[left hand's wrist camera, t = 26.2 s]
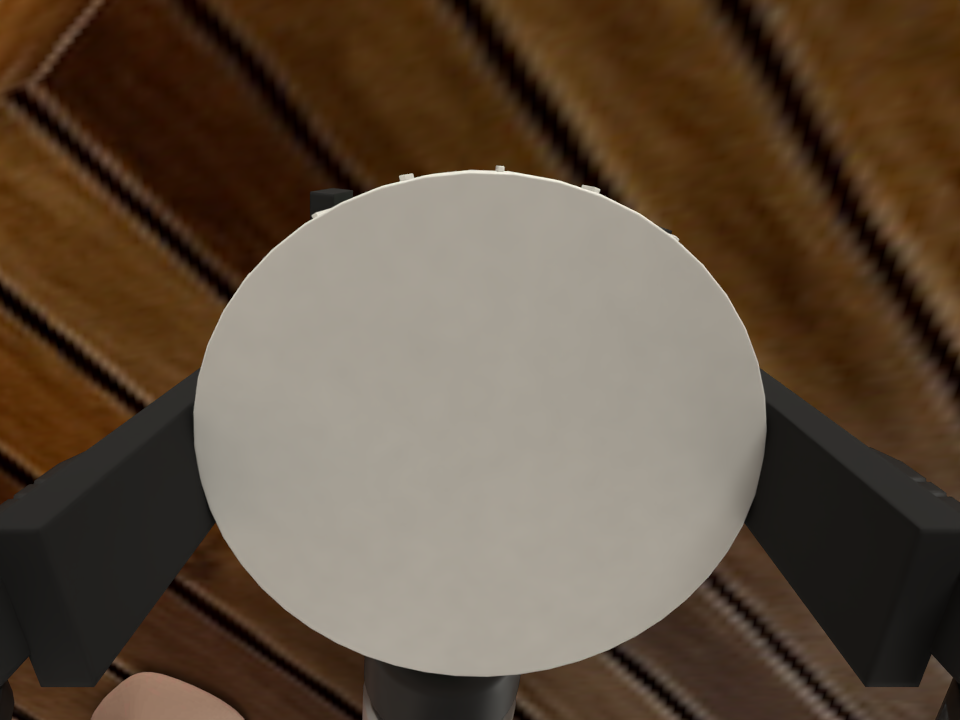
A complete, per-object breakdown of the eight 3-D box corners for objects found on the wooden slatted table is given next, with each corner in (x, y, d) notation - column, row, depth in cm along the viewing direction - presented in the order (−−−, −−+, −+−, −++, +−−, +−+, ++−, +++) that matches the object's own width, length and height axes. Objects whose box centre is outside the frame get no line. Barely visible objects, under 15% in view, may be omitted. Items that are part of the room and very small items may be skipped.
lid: (306, 644, 14) (284, 705, 12) (150, 219, 10) (90, 229, 9) (729, 591, 13) (762, 648, 12) (729, 118, 10) (778, 109, 8)
